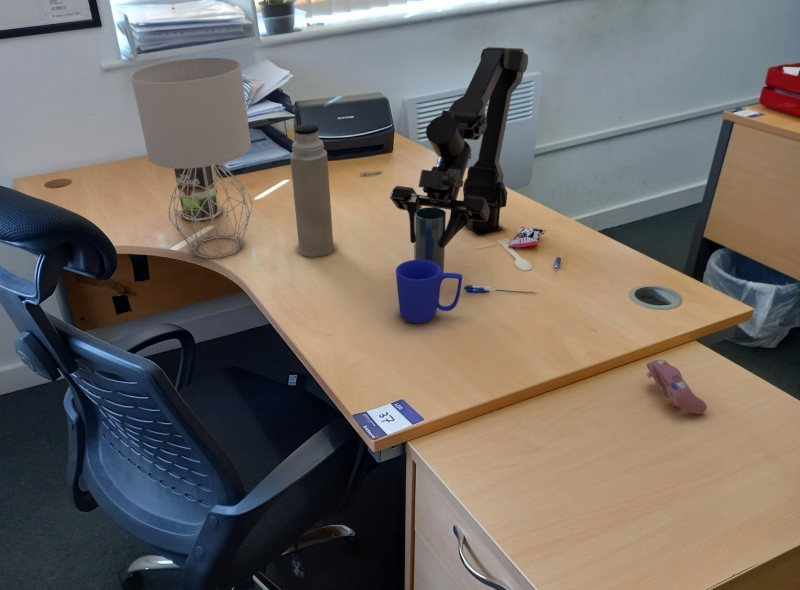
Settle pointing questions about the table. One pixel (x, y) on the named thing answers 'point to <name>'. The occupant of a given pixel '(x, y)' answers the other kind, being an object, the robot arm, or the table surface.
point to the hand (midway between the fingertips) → (426, 244)
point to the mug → (422, 290)
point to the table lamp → (195, 125)
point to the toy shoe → (675, 387)
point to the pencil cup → (429, 235)
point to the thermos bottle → (311, 192)
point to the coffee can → (198, 192)
